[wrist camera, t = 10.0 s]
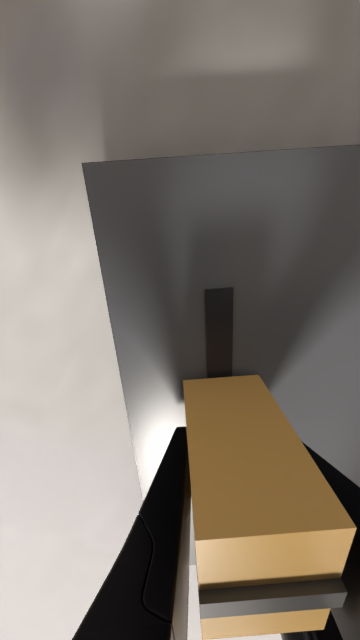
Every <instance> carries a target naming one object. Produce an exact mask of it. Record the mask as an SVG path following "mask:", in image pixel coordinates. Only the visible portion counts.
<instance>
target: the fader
mask: <svg viewBox="0 0 360 640" xmlns="http://www.w3.org/2000/svg"><path fill="white" fill-rule="evenodd" d="M183 388H184V402H185V416H186V429H187V442H188V456H189V470H190V484H191V498H192V512H193V525H194V539H195V552H196V566H197V579H198V592H199V606H200V619H201V633H202V640H207V639H219V638H230V637H242V636H254V635H266V634H277V633H289V632H301V631H313V630H324V628H325V624H326V621H327V618H328V615H329V612H330V609H331V608H339V607H342V606H343V603H344V601H345V598H346V595H347V590H346V588H345V586H344V584H343V582H342V580H341V575H342V572H343V569H344V566H345V563H346V560H347V557H348V554H349V550H350V547H351V544H352V541H353V538H354V535H355V532H356V529H357V527H356V526H355V524H354V523H353V521H352V519H351V518H350V516H349V515H348V513H347V512H346V510H345V509H344V507H343V505H342V504H341V502H340V501H339V499H338V498H337V496H336V495H335V493H334V491H333V490H332V488H331V487H330V485H329V484H328V482H327V480H326V479H325V477H324V476H323V474H322V473H321V471H320V470H319V468H318V466H317V465H316V463H315V462H314V460H313V459H312V457H311V456H310V454H309V452H308V451H307V449H306V448H305V446H304V445H303V443H302V441H301V440H300V438H299V437H298V435H297V434H296V432H295V431H294V429H293V427H292V426H291V424H290V423H289V421H288V420H287V418H286V417H285V415H284V413H283V412H282V410H281V409H280V407H279V406H278V404H277V402H276V401H275V399H274V398H273V396H272V395H271V393H270V392H269V390H268V388H267V387H266V385H265V384H264V382H263V381H262V379H261V378H260V376H259V375H246V376H233V377H220V378H206V379H193V380H183Z"/></svg>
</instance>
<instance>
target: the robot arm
mask: <svg viewBox="0 0 360 640" xmlns="http://www.w3.org/2000/svg"><path fill="white" fill-rule="evenodd" d="M302 443H303V442H302ZM303 445H304V446H305V448H306V449H307V451H308V452H309V454H310V456H311V457H312V459H313V460H314V462H315V463H316V465H317V466H318V468H319V470H320V471H321V473H322V474H323V476H324V477H325V479H326V480H327V482H328V484H329V485H330V487H331V488H332V490H333V491H334V493H335V495H336V496H337V498H338V499H339V501H340V502H341V504H342V505H343V507H344V509H345V510H346V512H347V513H348V515H349V516H350V518H351V519H352V521H353V523H354V524H355V526H356V527H357V529H356V532H355V535H354V538H353V541H352V544H351V547H350V550H349V554H348V557H347V560H346V563H345V566H344V569H343V572H342V575H341V580H342V582H343V584H344V586H345V588H346V590H347V595H346V598H345V601H344V603H343V606H342V607H339V608H331V609H330V612H329V615H328V618H327V621H326V624H325V628H324V630H313V631H301V632H289V633H281V636H282V640H360V487H359V486H358V485H356V484H355V483H354V482H353V481H351V480H350V479H349V478H348V477H346V476H345V475H344V474H342V473H341V472H340V471H339V470H337V469H336V468H335V467H334V466H332V465H331V464H330V463H329V462H327V461H326V460H325V459H324V458H322V457H321V456H320V455H319V454H317V453H316V452H315V451H313V450H312V449H311V448H310V447H308V446H307V445H306V444H305V443H303ZM190 525H191V484H190V470H189V456H188V442H187V429H186V426H182V427H176V429H175V431H174V433H173V435H172V438H171V440H170V442H169V445H168V447H167V449H166V451H165V454H164V456H163V458H162V461H161V463H160V465H159V467H158V470H157V472H156V474H155V476H154V479H153V481H152V483H151V486H150V488H149V490H148V492H147V495H146V497H145V499H144V502H143V504H142V506H141V508H140V511H139V515H137V517H136V519H135V522H134V524H133V526H132V529H131V531H130V533H129V535H128V537H127V539H126V541H125V543H124V546H123V548H122V550H121V552H120V553H119V555H118V557H117V559H116V561H115V563H114V565H113V567H112V569H111V570H110V572H109V574H108V576H107V578H106V579H105V581H104V583H103V585H102V587H101V588H100V590H99V592H98V594H97V596H96V597H95V599H94V601H93V603H92V605H91V606H90V608H89V610H88V612H87V614H86V615H85V617H84V619H83V621H82V623H81V624H80V626H79V628H78V630H77V632H76V633H75V635H74V637H73V638H72V640H187V628H188V593H189V559H190Z"/></svg>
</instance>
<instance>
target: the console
mask: <svg viewBox="0 0 360 640" xmlns="http://www.w3.org/2000/svg"><path fill="white" fill-rule="evenodd" d="M82 168H83V174H84V179H85V185H86V190H87V196H88V201H89V207H90V212H91V218H92V223H93V229H94V234H95V240H96V245H97V251H98V256H99V262H100V267H101V273H102V278H103V284H104V289H105V294H106V300H107V305H108V311H109V316H110V322H111V327H112V333H113V338H114V344H115V349H116V355H117V360H118V366H119V371H120V377H121V382H122V388H123V393H124V399H125V404H126V410H127V415H128V421H129V426H130V432H131V437H132V443H133V448H134V454H135V459H136V465H137V470H138V476H139V481H140V487H141V492H142V498H143V502H144V499H145V497H146V495H147V492H148V490H149V488H150V486H151V483H152V481H153V479H154V476H155V474H156V472H157V470H158V467H159V465H160V463H161V461H162V458H163V456H164V454H165V451H166V449H167V447H168V445H169V442H170V440H171V438H172V435H173V433H174V431H175V429H176V427H182V426H186V416H185V402H184V388H183V380H193V379H206V378H220V377H233V376H246V375H259V376H260V378H261V379H262V381H263V382H264V384H265V385H266V387H267V388H268V390H269V392H270V393H271V395H272V396H273V398H274V399H275V401H276V402H277V404H278V406H279V407H280V409H281V410H282V412H283V413H284V415H285V417H286V418H287V420H288V421H289V423H290V424H291V426H292V427H293V429H294V431H295V432H296V434H297V435H298V437H299V438H300V440H301V441H302V442H303V443H305V444H306V445H307V446H308V447H310V448H311V449H312V450H313V451H315V452H316V453H317V454H319V455H320V456H321V457H322V458H324V459H325V460H326V461H327V462H329V463H330V464H331V465H332V466H334V467H335V468H336V469H337V470H339V471H340V472H341V473H342V474H344V475H345V476H346V477H348V478H349V479H350V480H351V481H353V482H354V483H355V484H356V485H358V486H359V487H360V145H346V146H331V147H316V148H301V149H285V150H270V151H255V152H240V153H225V154H210V155H195V156H180V157H165V158H150V159H134V160H119V161H104V162H89V163H82ZM189 565H196V552H195V539H194V525H193V512H192V498H191V525H190V559H189Z"/></svg>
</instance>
